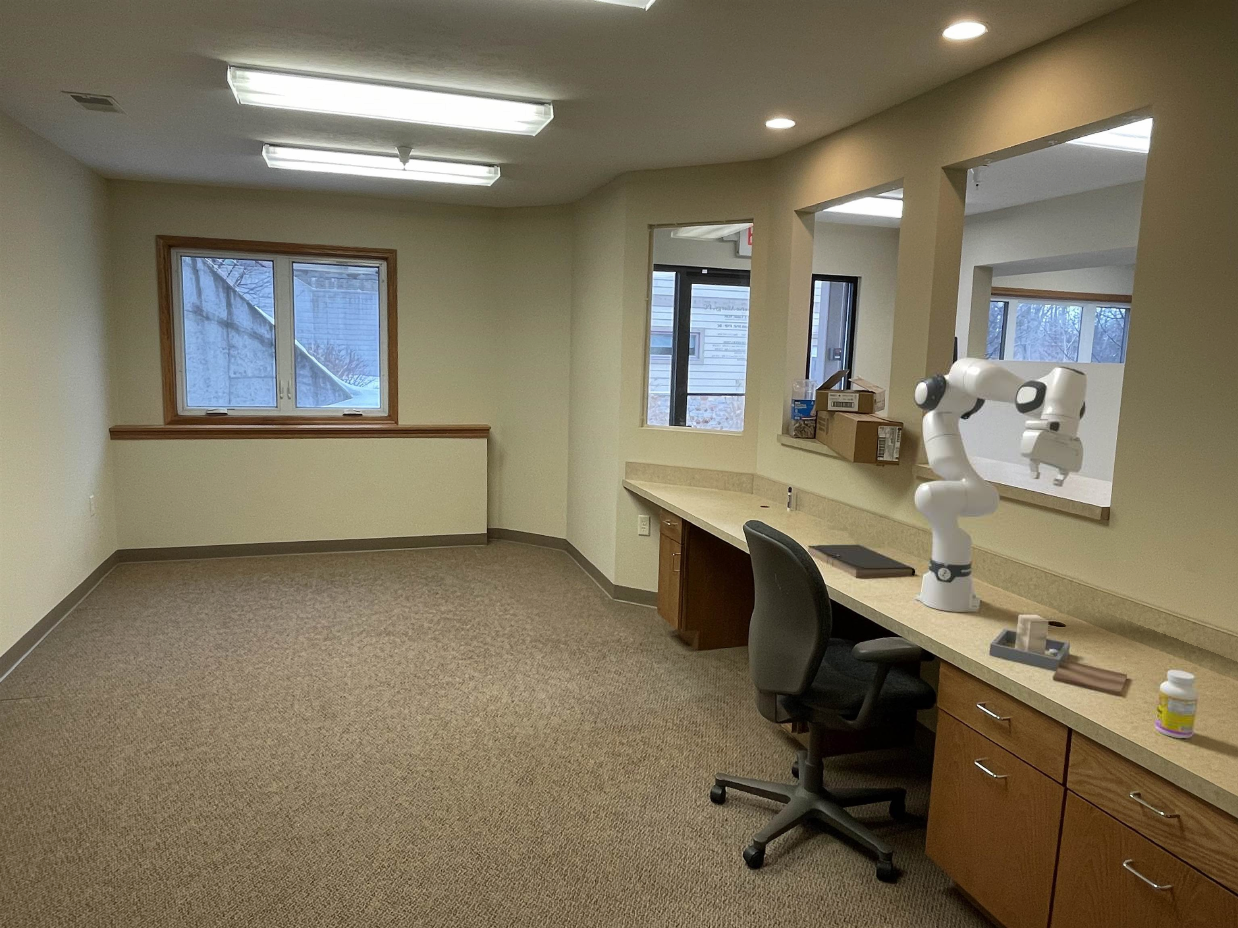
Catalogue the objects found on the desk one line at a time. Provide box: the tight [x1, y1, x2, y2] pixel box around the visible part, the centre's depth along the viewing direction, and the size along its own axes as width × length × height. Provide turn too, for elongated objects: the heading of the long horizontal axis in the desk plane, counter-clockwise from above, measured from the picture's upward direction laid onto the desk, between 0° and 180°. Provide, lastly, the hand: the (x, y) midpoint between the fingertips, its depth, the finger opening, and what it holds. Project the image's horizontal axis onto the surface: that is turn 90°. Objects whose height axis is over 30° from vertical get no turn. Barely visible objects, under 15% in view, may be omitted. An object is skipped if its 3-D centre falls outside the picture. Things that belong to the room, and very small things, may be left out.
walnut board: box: [1052, 659, 1128, 697], centre depth 199 cm, size 14×14×1 cm
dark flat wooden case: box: [807, 544, 916, 579], centre depth 301 cm, size 33×4×24 cm
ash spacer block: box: [1014, 614, 1049, 655], centre depth 214 cm, size 5×5×10 cm
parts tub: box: [989, 628, 1071, 672], centre depth 214 cm, size 16×16×3 cm
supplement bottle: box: [1154, 669, 1199, 739], centre depth 171 cm, size 7×7×13 cm
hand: (1046, 482), depth 209 cm, fingers open, 8 cm apart
